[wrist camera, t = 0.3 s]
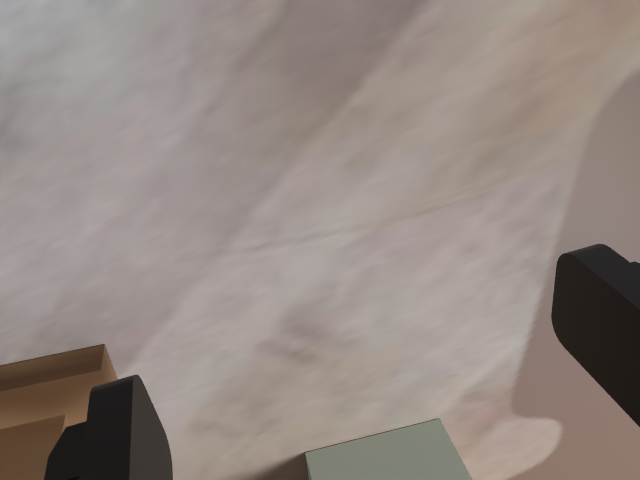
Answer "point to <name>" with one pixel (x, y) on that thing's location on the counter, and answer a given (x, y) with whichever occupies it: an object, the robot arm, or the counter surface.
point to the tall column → (45, 406)
